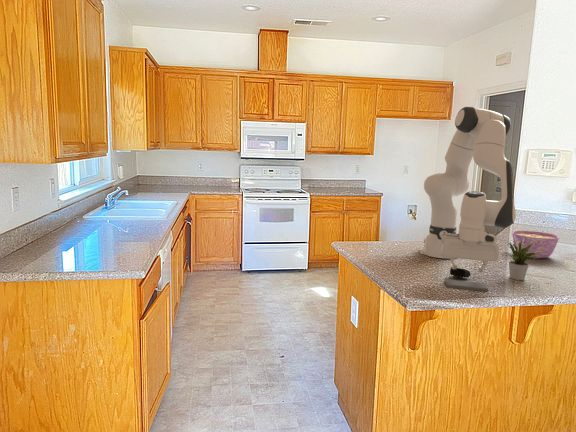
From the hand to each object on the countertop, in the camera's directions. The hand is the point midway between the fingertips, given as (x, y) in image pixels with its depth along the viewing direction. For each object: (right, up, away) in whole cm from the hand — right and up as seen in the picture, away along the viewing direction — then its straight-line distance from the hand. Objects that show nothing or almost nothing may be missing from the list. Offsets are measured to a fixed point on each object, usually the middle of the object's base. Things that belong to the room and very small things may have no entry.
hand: (467, 270), depth 163 cm
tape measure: (0, -4, +2) cm, 5 cm away
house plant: (+22, -4, +8) cm, 24 cm away
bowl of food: (+51, 0, +46) cm, 68 cm away
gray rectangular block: (-3, -5, -5) cm, 7 cm away
